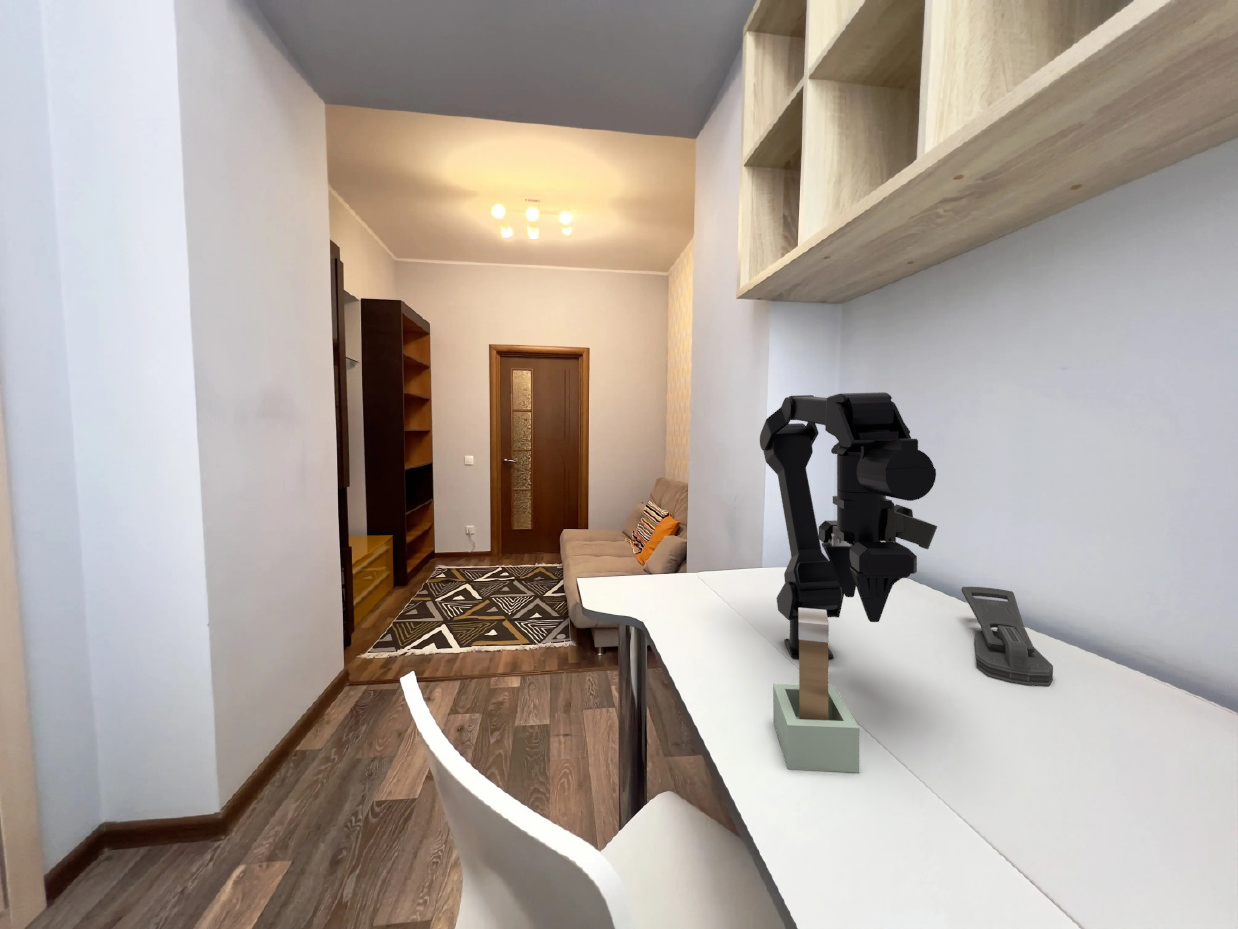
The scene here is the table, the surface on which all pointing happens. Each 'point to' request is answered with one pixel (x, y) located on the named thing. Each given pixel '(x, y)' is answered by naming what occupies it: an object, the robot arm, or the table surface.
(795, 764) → the post foot
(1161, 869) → the table surface
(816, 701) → the rail end
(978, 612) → the zipper pull
